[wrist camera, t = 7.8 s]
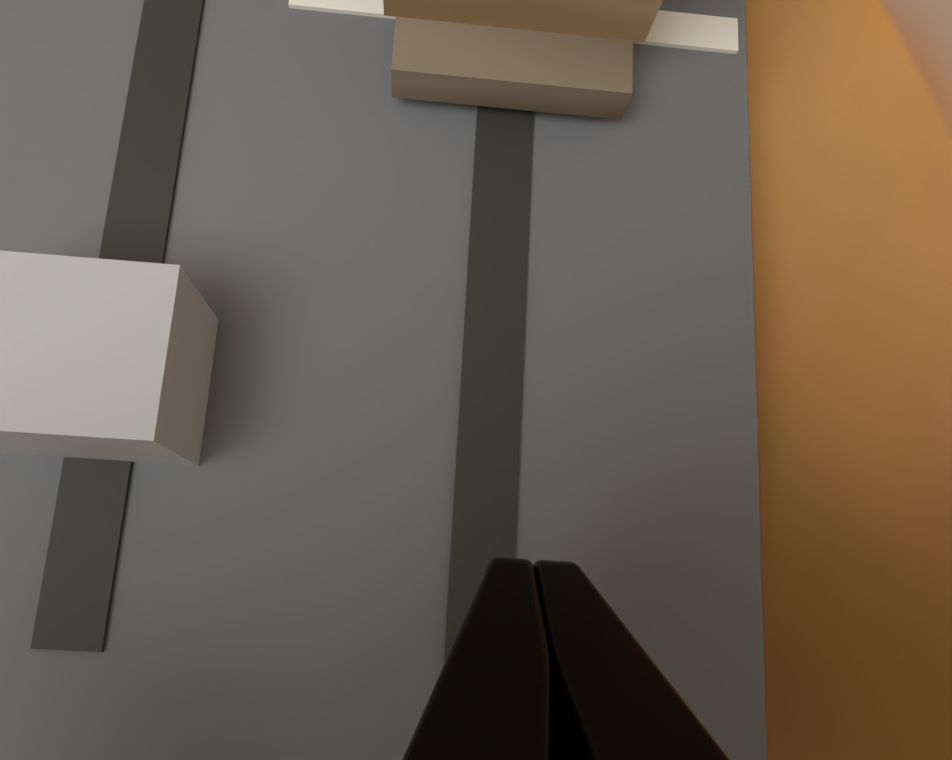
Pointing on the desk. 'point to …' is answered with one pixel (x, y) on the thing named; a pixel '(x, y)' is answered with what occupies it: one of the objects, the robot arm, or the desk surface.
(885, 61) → the desk surface
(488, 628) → the robot arm
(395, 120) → the console
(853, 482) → the desk surface
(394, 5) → the block
